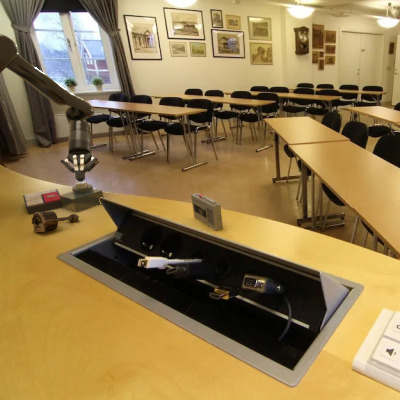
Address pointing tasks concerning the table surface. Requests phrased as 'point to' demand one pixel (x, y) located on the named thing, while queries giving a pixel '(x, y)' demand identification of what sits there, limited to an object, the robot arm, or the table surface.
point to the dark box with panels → (42, 201)
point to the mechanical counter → (49, 220)
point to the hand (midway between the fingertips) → (80, 180)
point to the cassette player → (207, 211)
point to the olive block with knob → (81, 198)
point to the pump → (81, 184)
